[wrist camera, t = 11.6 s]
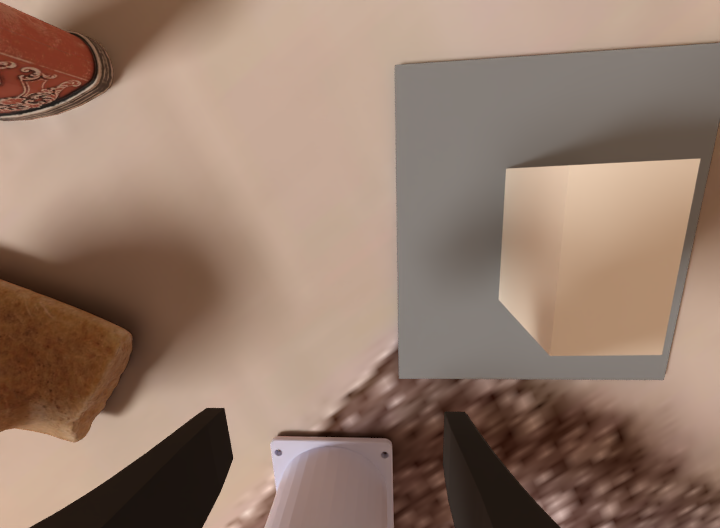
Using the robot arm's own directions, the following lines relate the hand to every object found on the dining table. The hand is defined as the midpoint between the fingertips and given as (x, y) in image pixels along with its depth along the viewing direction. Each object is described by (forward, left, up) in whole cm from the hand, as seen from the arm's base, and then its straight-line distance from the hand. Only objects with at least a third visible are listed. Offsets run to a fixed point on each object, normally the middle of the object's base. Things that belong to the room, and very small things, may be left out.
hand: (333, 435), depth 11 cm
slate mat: (+5, -10, -9) cm, 14 cm away
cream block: (+5, -10, -9) cm, 14 cm away
